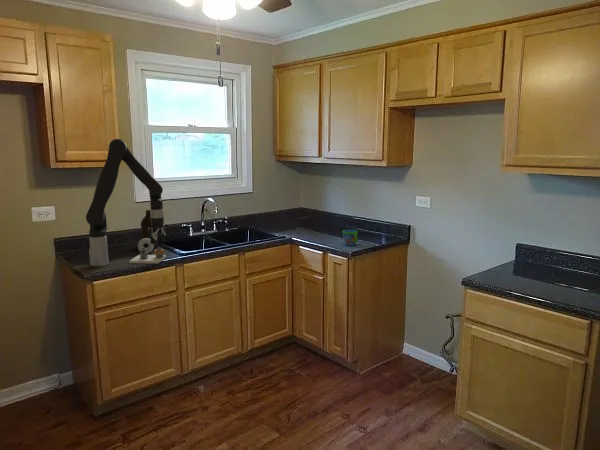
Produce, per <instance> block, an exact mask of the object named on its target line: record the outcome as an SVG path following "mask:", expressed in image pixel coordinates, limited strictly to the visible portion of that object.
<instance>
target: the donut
mask: <svg viewBox="0 0 600 450" xmlns="http://www.w3.org/2000/svg"><path fill="white" fill-rule="evenodd" d="M145 243H147V244H148V245H149V246H148V247H145V252H148V254H149V253H152V251H154V250H153V249H154V248H155V246H154V244H151V240H150V239H148V238H144V239H143V238H141V239H140V240H139V241H138V244H137V249H138V251H139V253H140V252H142V248H143V247H144V246H143V245H144V244H145Z"/></svg>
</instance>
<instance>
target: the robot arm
mask: <svg viewBox="0 0 600 450" xmlns="http://www.w3.org/2000/svg"><path fill="white" fill-rule="evenodd" d="M128 147H129V146H127V143H126V142H125V140H122V139H121V138H114V139H112V140H111V141H110V143H109V145H108V152H107V157H106V161H105V163H104V165H103V167H102V169H101V171H100V174H99V176H98V179H97V183H96V186H95V190H94V193H93V199H92V202H91V204H90V206H89V209H88V211H87V213H86V215H85V220H86V222H87V224H88V225H89V231H88V235H89V236H88V238H89V239H88V240H89V249H88V254H89V255H88V256H89V265H90V266H93V267H105V266H107V265H109V264H110V260H109V259H110V258H109V249H108V236H107V231H108V225H107V223H108V222H107V214H106V211H105V208H106V206H107V203H108V201H109V200H110V198H111V196H112V194H113V192H114V190H115V187H116V183H117V180H118V176H119V170H120V166H121V163H122V161H123V162H124V164H126V166H127V167H128V168H129V170H130V171H131V172H132V173H133V174H134V176H135V178H137V179H138V181H140V182H141V184H143V185H144V186H145V187H146V189H147V190H148V194H149V199H150V203H149V204H150V205H149V206H150V210H151V211H150V215H151V225H152V227H151V228H149V227H148V228H147V237H149V238H150V240H151V244H155V241H154V237H155V235H156V234H157V235H158V234H159V233H160V234H161V242H164V243H165V242H166V236H167V235H168V234H169V228H168V227H169V225H168V224H166V223H165V220H164V219H165V218H164V215H165V213H164V204H163V200H162V193H163V190H164V189H163V187H162V185H161V184H160V183H159V182H158V181H157V179H155V178H154V177H153V176H152V175H151V173H150V172H149V171H148V169H146V168H145V167H144V165H143V164H141V162H140V161H139V160H138V159H137V158H136V157H135V156H134V154H133V153H132V152H131V150H130V149H129V148H128ZM149 234H150V235H149Z"/></svg>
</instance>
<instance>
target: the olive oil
mask: <svg viewBox="0 0 600 450" xmlns="http://www.w3.org/2000/svg"><path fill="white" fill-rule="evenodd" d="M150 212H151V209H145V216H144V217H143V218H142V219H141V221H140V228H141V229H140V230H141V237H142V238H141V239H144V238H148V239H150V238H149V237H147V228H148V227H149V228H151V227H152V225H151V215H150ZM149 235H150V234H149ZM154 241H155V244H154V247H157V246H158V233H157V234H156V235H155V237H154ZM148 246H149V245H148V244H147V243H145V244H144V245H143V247H145V248H148Z"/></svg>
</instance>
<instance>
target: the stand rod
mask: <svg viewBox="0 0 600 450" xmlns="http://www.w3.org/2000/svg"><path fill="white" fill-rule="evenodd" d="M145 248H146V247H144V246H143V248H142V252H140V251H139V255H140V259H147V258H148V255H149V253H148V252H145Z"/></svg>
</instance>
